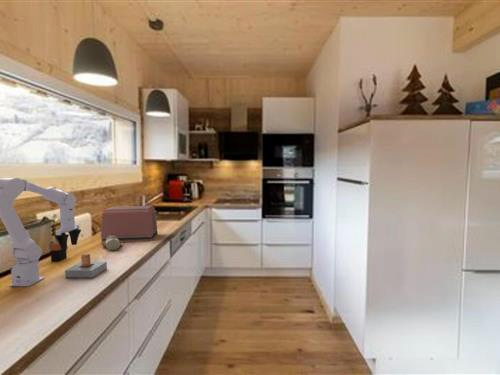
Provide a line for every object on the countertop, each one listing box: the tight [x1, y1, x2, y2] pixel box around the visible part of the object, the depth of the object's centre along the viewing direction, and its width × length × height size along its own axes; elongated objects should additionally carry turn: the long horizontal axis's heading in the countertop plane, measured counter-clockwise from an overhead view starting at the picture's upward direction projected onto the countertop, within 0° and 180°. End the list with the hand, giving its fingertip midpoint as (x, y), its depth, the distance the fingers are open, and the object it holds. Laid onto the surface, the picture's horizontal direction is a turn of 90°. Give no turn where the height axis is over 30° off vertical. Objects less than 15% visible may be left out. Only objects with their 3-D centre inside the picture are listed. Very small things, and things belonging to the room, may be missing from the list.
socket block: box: [64, 261, 108, 280], centre depth 140 cm, size 12×12×4 cm
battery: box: [49, 240, 67, 262], centre depth 162 cm, size 4×7×10 cm, turn 0°
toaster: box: [100, 205, 159, 243], centre depth 205 cm, size 19×34×20 cm, turn 96°
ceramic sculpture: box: [101, 234, 122, 252], centre depth 182 cm, size 11×9×15 cm
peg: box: [80, 253, 92, 268], centre depth 140 cm, size 4×4×8 cm
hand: (69, 246), depth 148 cm, fingers open, 7 cm apart
